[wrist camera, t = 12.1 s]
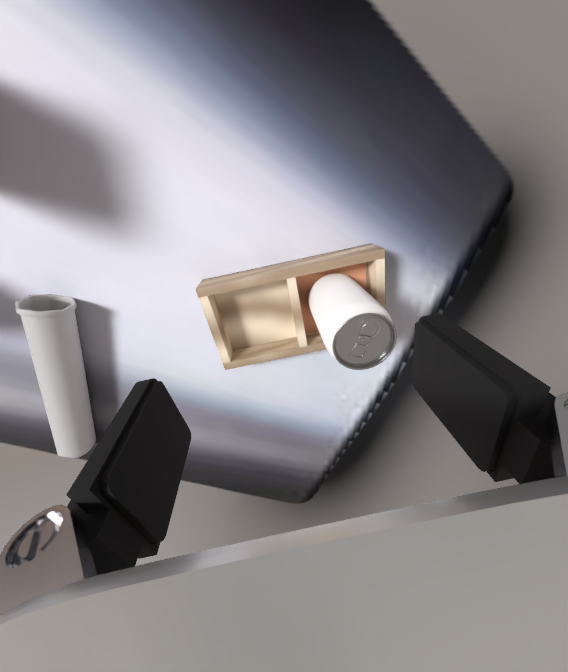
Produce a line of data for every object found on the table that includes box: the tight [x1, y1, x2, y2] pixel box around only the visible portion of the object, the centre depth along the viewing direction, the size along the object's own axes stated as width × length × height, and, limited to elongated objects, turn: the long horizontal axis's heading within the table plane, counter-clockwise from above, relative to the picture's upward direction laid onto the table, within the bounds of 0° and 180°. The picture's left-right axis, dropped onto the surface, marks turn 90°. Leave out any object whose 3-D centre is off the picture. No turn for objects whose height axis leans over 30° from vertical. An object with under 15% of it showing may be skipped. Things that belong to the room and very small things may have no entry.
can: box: [308, 273, 397, 370], centre depth 28 cm, size 6×6×12 cm
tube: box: [15, 294, 96, 459], centre depth 35 cm, size 5×5×25 cm
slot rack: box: [196, 244, 385, 370], centre depth 33 cm, size 11×21×4 cm, turn 101°
